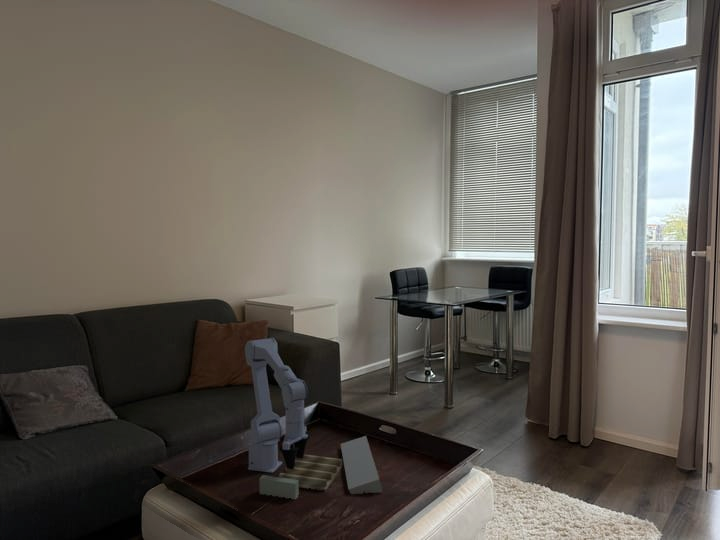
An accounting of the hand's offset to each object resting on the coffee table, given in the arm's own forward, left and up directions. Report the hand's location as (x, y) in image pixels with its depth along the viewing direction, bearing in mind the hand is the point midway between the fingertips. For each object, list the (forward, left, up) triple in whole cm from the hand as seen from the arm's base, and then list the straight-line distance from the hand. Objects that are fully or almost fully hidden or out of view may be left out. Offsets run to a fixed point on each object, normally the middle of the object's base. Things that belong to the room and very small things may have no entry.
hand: (295, 463), depth 157 cm
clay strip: (-4, -4, -9) cm, 10 cm away
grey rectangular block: (+15, +20, -10) cm, 27 cm away
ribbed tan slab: (+1, +11, -9) cm, 14 cm away
